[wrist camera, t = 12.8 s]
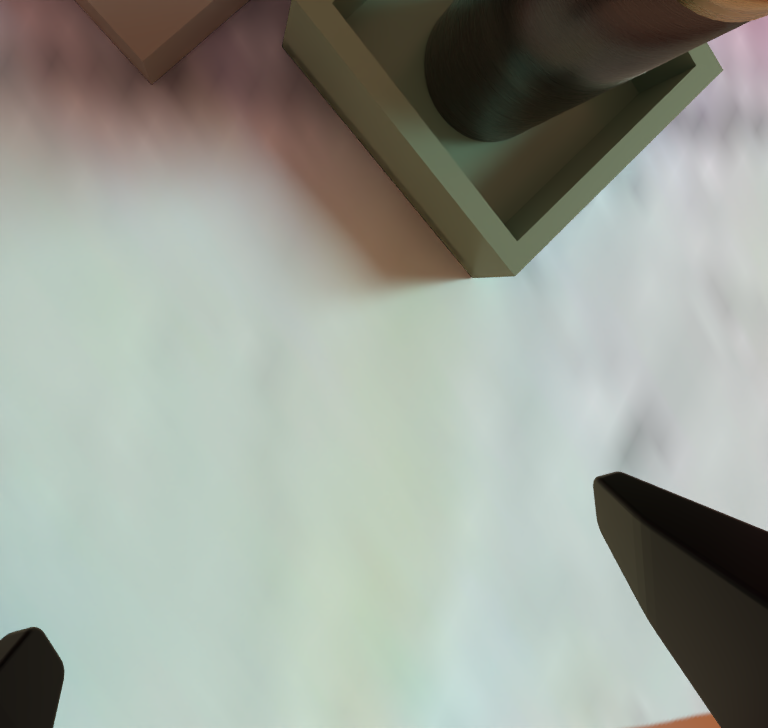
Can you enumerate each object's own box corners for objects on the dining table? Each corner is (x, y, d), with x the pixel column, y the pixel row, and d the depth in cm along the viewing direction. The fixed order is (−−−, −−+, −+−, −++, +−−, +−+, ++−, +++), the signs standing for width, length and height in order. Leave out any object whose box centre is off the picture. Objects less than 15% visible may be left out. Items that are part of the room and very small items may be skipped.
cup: (472, 277, 22) (514, 276, 19) (282, 46, 19) (292, -4, 16) (652, 101, 23) (722, 70, 20) (496, -144, 20) (548, -228, 17)
